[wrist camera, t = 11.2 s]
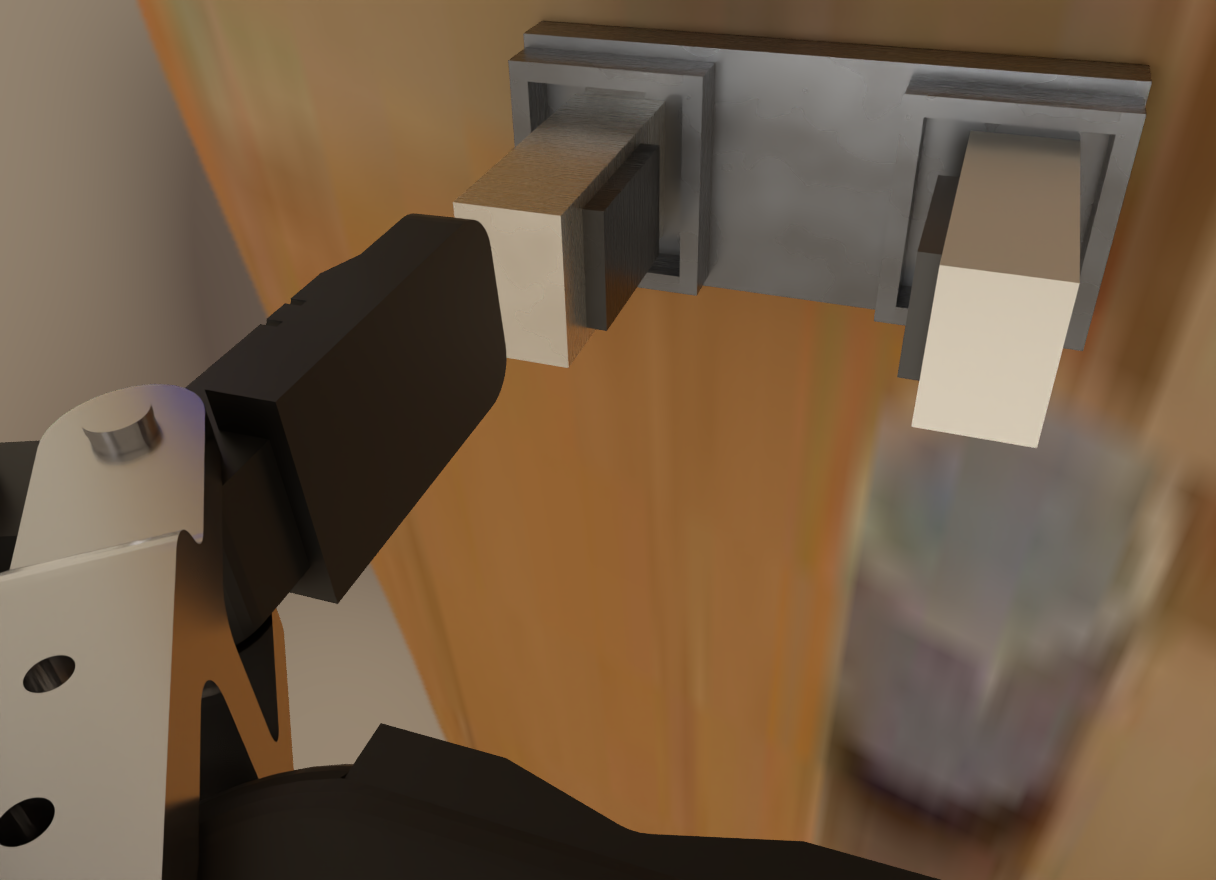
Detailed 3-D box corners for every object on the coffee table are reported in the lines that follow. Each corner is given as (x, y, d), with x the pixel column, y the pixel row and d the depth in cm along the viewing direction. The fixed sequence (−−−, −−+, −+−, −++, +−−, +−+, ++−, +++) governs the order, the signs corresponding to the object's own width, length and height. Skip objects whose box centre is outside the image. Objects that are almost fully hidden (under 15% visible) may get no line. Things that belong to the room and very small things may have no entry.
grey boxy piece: (554, 244, 40) (423, 393, 32) (541, 21, 36) (385, 130, 28) (1083, 316, 35) (1083, 513, 27) (1149, 65, 31) (1172, 215, 23)
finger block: (925, 267, 35) (887, 422, 28) (949, 128, 32) (912, 261, 25) (1046, 283, 34) (1036, 448, 27) (1080, 141, 31) (1079, 283, 24)
